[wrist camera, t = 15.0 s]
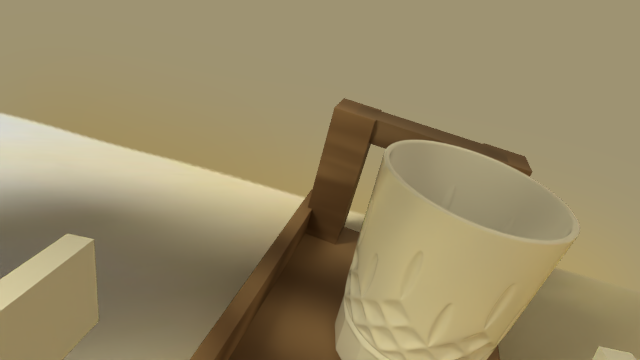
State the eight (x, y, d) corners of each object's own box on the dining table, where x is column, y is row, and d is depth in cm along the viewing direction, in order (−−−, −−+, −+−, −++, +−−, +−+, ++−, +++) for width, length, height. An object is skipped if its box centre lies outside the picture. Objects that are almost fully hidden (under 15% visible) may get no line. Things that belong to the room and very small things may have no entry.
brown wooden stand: (483, 546, 16) (638, 366, 11) (182, 408, 17) (212, 205, 13) (467, 285, 30) (533, 159, 25) (302, 223, 32) (336, 95, 27)
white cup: (460, 465, 17) (593, 277, 13) (293, 363, 19) (356, 172, 15) (480, 340, 24) (572, 188, 19) (354, 275, 26) (410, 125, 22)
